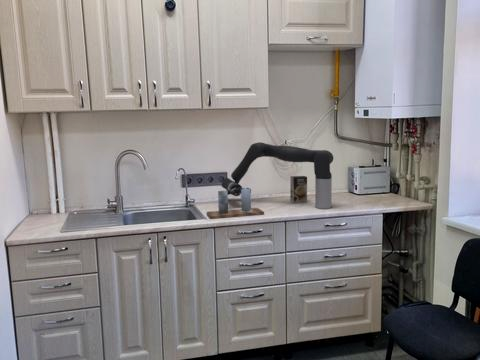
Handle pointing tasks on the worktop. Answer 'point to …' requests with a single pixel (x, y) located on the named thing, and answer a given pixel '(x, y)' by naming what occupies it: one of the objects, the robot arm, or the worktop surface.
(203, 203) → the worktop surface
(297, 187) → the coffee box
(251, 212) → the board
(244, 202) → the column
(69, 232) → the worktop surface
